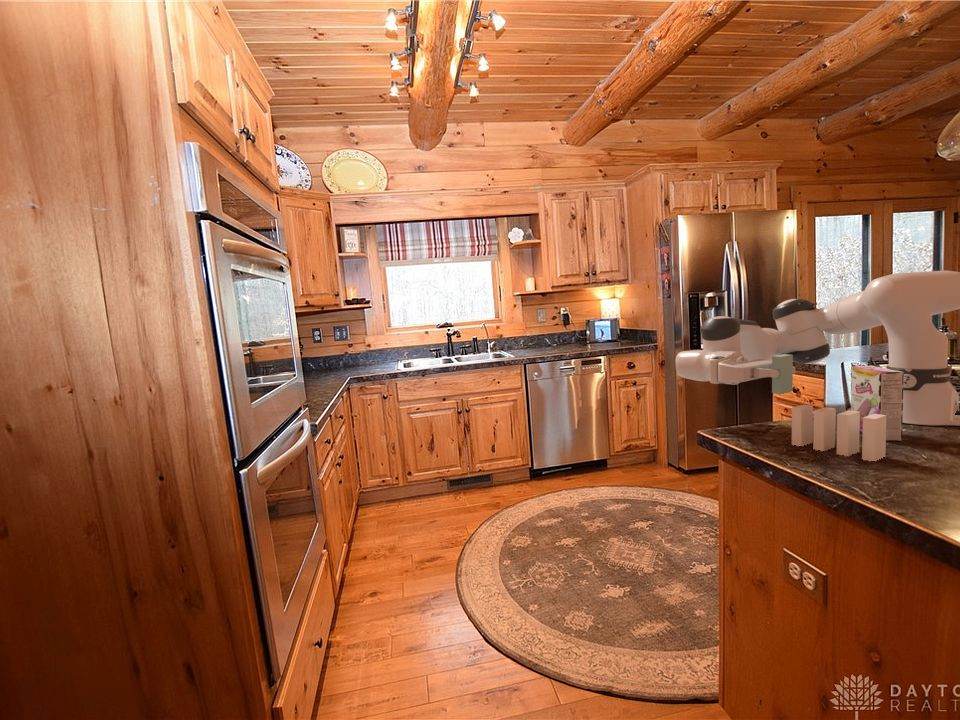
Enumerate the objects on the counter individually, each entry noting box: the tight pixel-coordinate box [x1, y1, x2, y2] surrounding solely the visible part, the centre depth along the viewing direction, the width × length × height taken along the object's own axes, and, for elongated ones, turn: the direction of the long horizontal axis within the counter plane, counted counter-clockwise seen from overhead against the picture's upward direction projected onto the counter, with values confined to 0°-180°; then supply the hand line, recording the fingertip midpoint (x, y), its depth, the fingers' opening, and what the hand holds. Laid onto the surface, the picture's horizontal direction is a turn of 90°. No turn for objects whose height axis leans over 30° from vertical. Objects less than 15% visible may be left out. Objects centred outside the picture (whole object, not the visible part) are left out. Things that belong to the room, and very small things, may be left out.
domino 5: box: [861, 414, 887, 462], centre depth 92 cm, size 5×2×9 cm, turn 118°
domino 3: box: [812, 406, 837, 452], centre depth 100 cm, size 5×2×9 cm, turn 118°
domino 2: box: [791, 404, 814, 447], centre depth 104 cm, size 5×2×9 cm, turn 118°
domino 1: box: [771, 353, 794, 395], centre depth 107 cm, size 5×2×9 cm, turn 118°
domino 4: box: [836, 409, 860, 457], centre depth 96 cm, size 5×2×9 cm, turn 118°
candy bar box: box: [850, 365, 904, 442], centre depth 106 cm, size 11×5×16 cm, turn 168°
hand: (786, 371), depth 106 cm, fingers closed on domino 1, 5 cm apart
